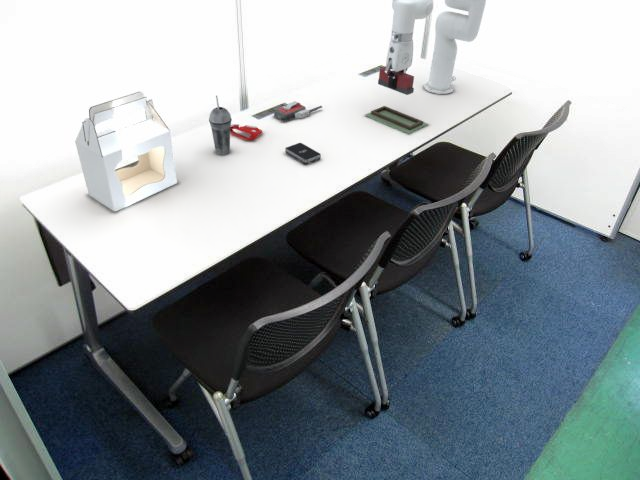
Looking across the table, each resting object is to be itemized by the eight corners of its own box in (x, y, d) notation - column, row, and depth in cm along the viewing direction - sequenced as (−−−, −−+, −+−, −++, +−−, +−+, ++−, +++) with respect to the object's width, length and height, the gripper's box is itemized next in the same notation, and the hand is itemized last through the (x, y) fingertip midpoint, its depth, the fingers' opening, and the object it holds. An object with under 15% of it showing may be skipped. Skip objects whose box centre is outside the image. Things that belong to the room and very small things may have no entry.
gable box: (114, 213, 151) (92, 119, 134) (87, 195, 158) (64, 103, 141) (178, 183, 165) (166, 94, 148) (151, 168, 172) (137, 82, 155)
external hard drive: (305, 166, 177) (305, 160, 175) (284, 153, 183) (284, 147, 182) (321, 159, 180) (321, 154, 179) (300, 147, 187) (300, 142, 186)
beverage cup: (237, 149, 184) (234, 92, 172) (227, 158, 179) (223, 100, 167) (218, 145, 186) (213, 88, 174) (207, 154, 180) (202, 96, 168)
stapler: (413, 92, 199) (415, 76, 195) (407, 95, 197) (409, 78, 193) (383, 81, 207) (385, 66, 203) (377, 84, 205) (379, 68, 201)
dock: (385, 107, 217) (385, 103, 216) (427, 125, 205) (428, 120, 204) (365, 116, 210) (365, 111, 209) (408, 134, 198) (409, 129, 197)
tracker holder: (259, 125, 197) (266, 130, 188) (257, 137, 199) (264, 142, 190) (226, 120, 192) (232, 126, 184) (225, 133, 194) (230, 139, 185)
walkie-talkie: (286, 125, 201) (323, 110, 212) (286, 114, 198) (324, 100, 210) (270, 117, 205) (308, 104, 217) (270, 106, 203) (308, 93, 214)
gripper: (395, 43, 184) (389, 95, 195) (424, 34, 193) (417, 84, 204) (378, 38, 188) (373, 89, 199) (407, 29, 197) (401, 78, 208)
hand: (395, 86), depth 201 cm, fingers closed on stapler, 3 cm apart
